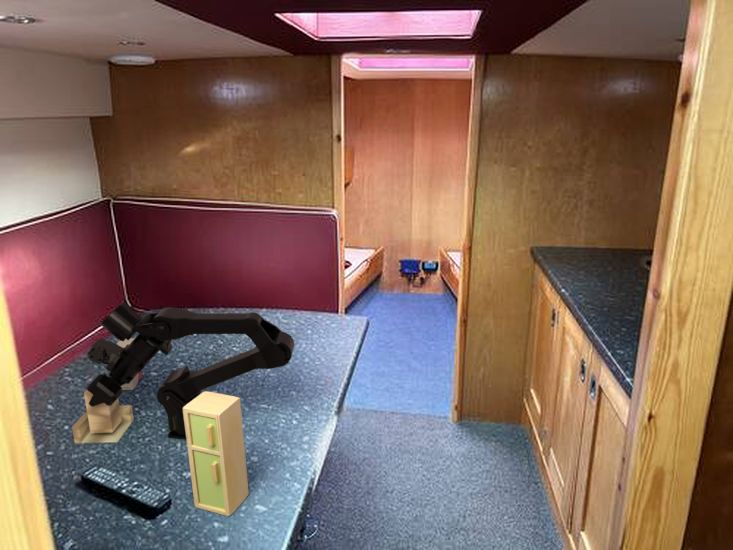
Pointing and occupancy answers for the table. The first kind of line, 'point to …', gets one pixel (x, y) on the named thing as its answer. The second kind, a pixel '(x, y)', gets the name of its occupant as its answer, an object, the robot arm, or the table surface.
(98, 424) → the maple block
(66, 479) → the table surface
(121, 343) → the ink box
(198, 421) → the toy refrigerator
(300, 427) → the table surface
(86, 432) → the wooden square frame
